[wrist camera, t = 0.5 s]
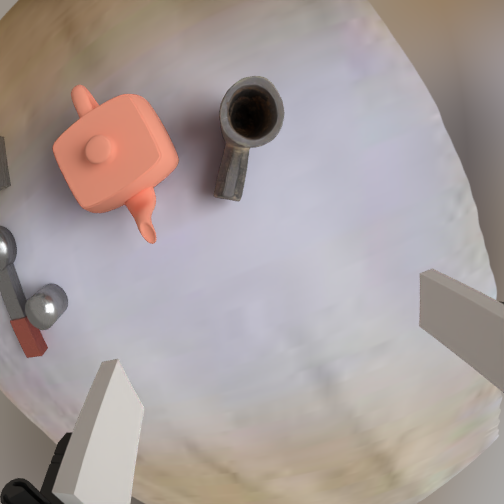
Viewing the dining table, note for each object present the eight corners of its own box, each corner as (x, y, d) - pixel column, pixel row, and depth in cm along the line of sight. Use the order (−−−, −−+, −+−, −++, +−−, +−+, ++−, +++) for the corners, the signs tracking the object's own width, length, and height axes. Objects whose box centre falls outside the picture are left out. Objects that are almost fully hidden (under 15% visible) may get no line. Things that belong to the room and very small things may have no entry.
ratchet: (-17, 232, 31) (-46, 242, 25) (9, 220, 32) (-20, 229, 25) (27, 351, 36) (7, 375, 29) (54, 346, 37) (36, 372, 30)
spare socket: (37, 287, 35) (20, 300, 30) (61, 280, 35) (45, 294, 30) (48, 316, 36) (33, 332, 31) (72, 310, 36) (58, 327, 31)
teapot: (137, 76, 31) (116, 44, 21) (207, 202, 36) (208, 212, 26) (60, 128, 31) (18, 116, 21) (126, 251, 36) (100, 277, 26)
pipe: (201, 193, 36) (200, 198, 28) (223, 90, 33) (229, 68, 25) (252, 203, 37) (265, 210, 29) (273, 101, 34) (291, 83, 26)
